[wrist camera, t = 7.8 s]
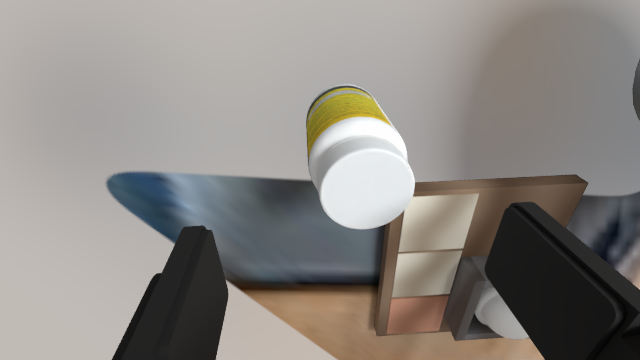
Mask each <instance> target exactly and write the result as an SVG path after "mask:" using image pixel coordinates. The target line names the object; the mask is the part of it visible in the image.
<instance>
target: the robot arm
mask: <svg viewBox="0 0 640 360" xmlns="http://www.w3.org/2000/svg"><path fill="white" fill-rule="evenodd" d="M633 105H634V108H635V111H636V114H637V116H638V118H639V120H640V60H639V63H638V66H637V68H636V72H635V78H634V84H633ZM485 274H486V276H487V278H488V280H489V281H490V282H491V284H492V285H493V287H494V288H495V289H496V291H497V292H498V294H499V295H500V297H501V298H502V299H503V301H504V302H505V304H506V305H507V306H508V308H509V309H510V311H511V312H512V313H513V315H514V316H515V318H516V319H517V321H518V322H519V323H520V325H521V326H522V328H523V329H524V330H525V332H526V333H527V335H528V336H529V337H530V339H531V340H532V342H533V343H534V345H535V346H536V347H537V349H538V350H539V352H540V353H541V354H542V356H543V357H544V359H545V360H640V290H639V289H638V288H637V287H636V286H634V285H633V284H632V283H631V282H630V281H628V280H627V279H626V278H625V277H624V276H622V275H621V274H620V273H619V272H618V271H616V270H615V269H614V268H613V267H612V266H610V265H609V264H608V263H607V262H606V261H604V260H603V259H602V258H601V257H600V256H598V255H597V254H596V253H595V252H594V251H592V250H591V249H590V248H589V247H588V246H586V245H585V244H584V243H583V242H582V241H580V240H579V239H578V238H577V237H576V236H574V235H573V234H572V233H571V232H570V231H568V230H567V229H566V228H565V227H564V226H562V225H561V224H560V223H559V222H558V221H556V220H555V219H554V218H553V217H552V216H550V215H549V214H548V213H547V212H546V211H544V210H543V209H542V208H541V207H540V206H538V205H537V204H536V203H534V202H516V203H512V204H510V205H509V207H508V208H506V209H505V211H504V213H503V216H502V219H501V222H500V225H499V227H498V230H497V233H496V236H495V239H494V241H493V244H492V247H491V250H490V253H489V256H488V258H487V261H486V264H485ZM227 301H228V288H227V284H226V281H225V277H224V273H223V269H222V266H221V262H220V258H219V255H218V251H217V247H216V243H215V240H214V236H213V233H212V231H211V230H206V228H205V226H191V227H184V228H183V229H182V231H181V233H180V235H179V237H178V239H177V241H176V244H175V246H174V248H173V250H172V252H171V254H170V257H169V259H168V261H167V263H166V265H165V267H164V269H163V272H162V273H158V274H156V275H155V276H154V277H153V278H152V280H151V281H150V283H149V285H148V287H147V289H146V291H145V294H144V296H143V297H142V299H141V302H140V304H139V306H138V308H137V310H136V312H135V314H134V316H133V318H132V320H131V322H130V324H129V326H128V328H127V330H126V332H125V334H124V336H123V338H122V340H121V343H120V344H119V346H118V348H117V350H116V352H115V354H114V356H113V359H112V360H216V355H217V350H218V345H219V340H220V335H221V330H222V326H223V321H224V316H225V311H226V306H227Z"/></svg>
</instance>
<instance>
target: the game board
mask: <svg viewBox="0 0 640 360" xmlns="http://www.w3.org/2000/svg"><path fill="white" fill-rule="evenodd" d="M587 185H588V182H586V181H585V180H583V179H581V178H580V177H579V176H577V175H558V176H540V177H539V176H538V177H518V178H497V179H478V180H459V181H439V182H418V183H415V188H414V194H413V197H412V199H411V201H410V203H409V205H408V206H407V208H406V209H405V210H404V211H403V212H402V213H401V214H400V215H399V216H398V217H396V218H395V219H394V220H392V221H391V222H389V223H387V224H385V232H384V241H383V250H382V260H381V269H380V278H379V287H378V296H377V305H376V314H375V323H374V326H375V330H376V335H377V336H388V335H403V334H418V333H433V332H448V331H451V333H452V335H453V337H454V339H455V341H458V340H473V339H488V338H502V337H503V336H501V335H499V334H497V333H496V332H494V331H493V330H492V329H491V328H490V327H489V326H488V325H485V324H483V323H481V322H480V321H479V320H478V319H477V317H476V315H475V313H474V312H475V310H476V307H477V304H478V302H479V299H480V296H481V294H482V291H483V288H494V287H493V285H492V284H491V282H490V281H489V280H488V278H487V276H486V274H485V264H486V261H487V258H488V256H489V253H490V250H491V247H492V244H493V241H494V239H495V236H496V233H497V230H498V227H499V225H500V222H501V219H502V216H503V213H504V211H505V209H506V208H508V207H509V205H510V204H512V203H516V202H534V203H536V204H537V205H538V206H540V207H541V208H542V209H543V210H544V211H546V212H547V213H548V214H549V215H550V216H552V217H553V218H554V219H555V220H556V221H558V222H559V223H560V224H561V225H562V226H564V227H565V228H566V226H567V224H568V222H569V220H570V219H571V217H572V215H573V213H574V211H575V209H576V207H577V205H578V203H579V201H580V199H581V197H582V195H583V193H584V191H585V189H586V187H587Z"/></svg>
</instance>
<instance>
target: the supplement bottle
mask: <svg viewBox="0 0 640 360" xmlns="http://www.w3.org/2000/svg"><path fill="white" fill-rule="evenodd" d="M306 124H307V125H306V127H307V147H308V165H309V172H310V176H311V179H312V181H313V183H314V185H315V187H316V188H317V189H318V193H319V198H320V202H321V205H322V207H323V209H324V211H325V212H326V214H327V215H328V216H329V217H330V218H331V219H332V220H333V221H335V222H336V223H338V224H340V225H342V226H345V227H348V228H352V229H371V228H376V227H379V226H382V225H385V224H387V223H389V222H391V221H392V220H394V219H395V218H396V217H398V216H399V215H400V214H401V213H402V212H403V211H404V210H405V209H406V208H407V206H408V205H409V203H410V201H411V199H412V197H413V194H414V188H415V180H414V175H413V172H412V170H411V168H410V166H409V164H408V162H407V150H406V147H405V144H404V141H403V139H402V138H401V136H400V134H399V133H398V132H397V130H396V129H395V127H394V126H393V124H392V123H391V122H390V120H389V119H388V118H387V116H386V115H385V113H384V112H383V110H382V109H381V107H380V106H379V104H378V103H377V102H376V100H375V99H374V97H372V95H371V94H370V93H368V92H367V91H366V90H364V89H362V88H360V87H358V86H355V85H350V84H340V85H336V86H332V87H330V88H328V89H326V90H324V91H323V92H322V93H320V94H319V95H318V96H317V97H316V98H315V100H314V101H313V103H312V104H311V106H310V108H309V110H308V114H307V121H306Z"/></svg>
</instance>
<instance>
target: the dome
mask: <svg viewBox="0 0 640 360" xmlns="http://www.w3.org/2000/svg"><path fill="white" fill-rule="evenodd" d="M474 313H475V315H476V317H477V319H478V320H479V321H480V322H481V323H483V324H485V325H488V326H489V327H490V328H491V329H492V330H493V331H494V332H496V333H497V334H499V335H501V336H503V337H505V338H509V339H515V340H521V339H526V338H529V336H528V335H527V333H526V332H525V330H524V329H523V328H522V326H521V325H520V323H519V322H518V321H517V319H516V318H515V316H514V315H513V313H512V312H511V311H510V309H509V308H508V306H507V305H506V304H505V302H504V301H503V299H502V298H501V297H500V295H499V294H498V292H497V291H496V289H495V288H483V291H482V294H481V296H480V299H479V302H478V304H477V307H476V310H475V312H474Z"/></svg>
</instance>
